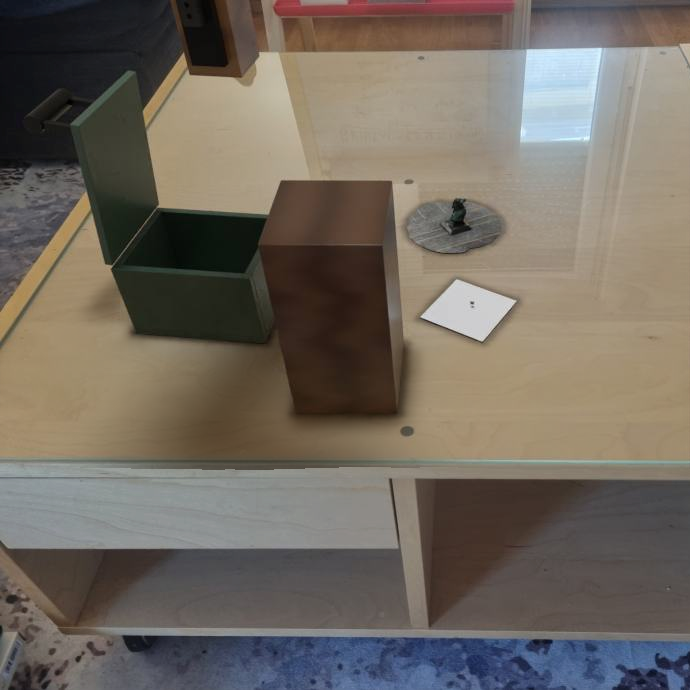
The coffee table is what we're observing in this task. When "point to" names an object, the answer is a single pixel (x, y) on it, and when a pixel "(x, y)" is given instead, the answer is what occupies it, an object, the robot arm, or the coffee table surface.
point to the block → (228, 39)
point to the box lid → (108, 158)
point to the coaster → (469, 310)
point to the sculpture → (453, 226)
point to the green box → (197, 276)
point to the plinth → (336, 293)
